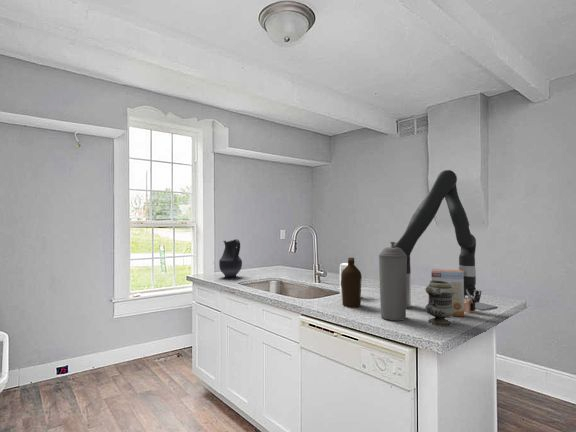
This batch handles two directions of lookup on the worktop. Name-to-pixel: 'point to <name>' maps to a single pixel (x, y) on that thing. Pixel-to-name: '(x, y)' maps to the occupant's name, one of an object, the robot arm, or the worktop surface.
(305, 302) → the worktop surface
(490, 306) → the charcoal mat
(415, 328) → the worktop surface
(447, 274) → the cracker box
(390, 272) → the canister
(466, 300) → the lettered block
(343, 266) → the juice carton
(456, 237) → the robot arm
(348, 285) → the olive oil
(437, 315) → the apothecary jar
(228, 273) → the pitcher
